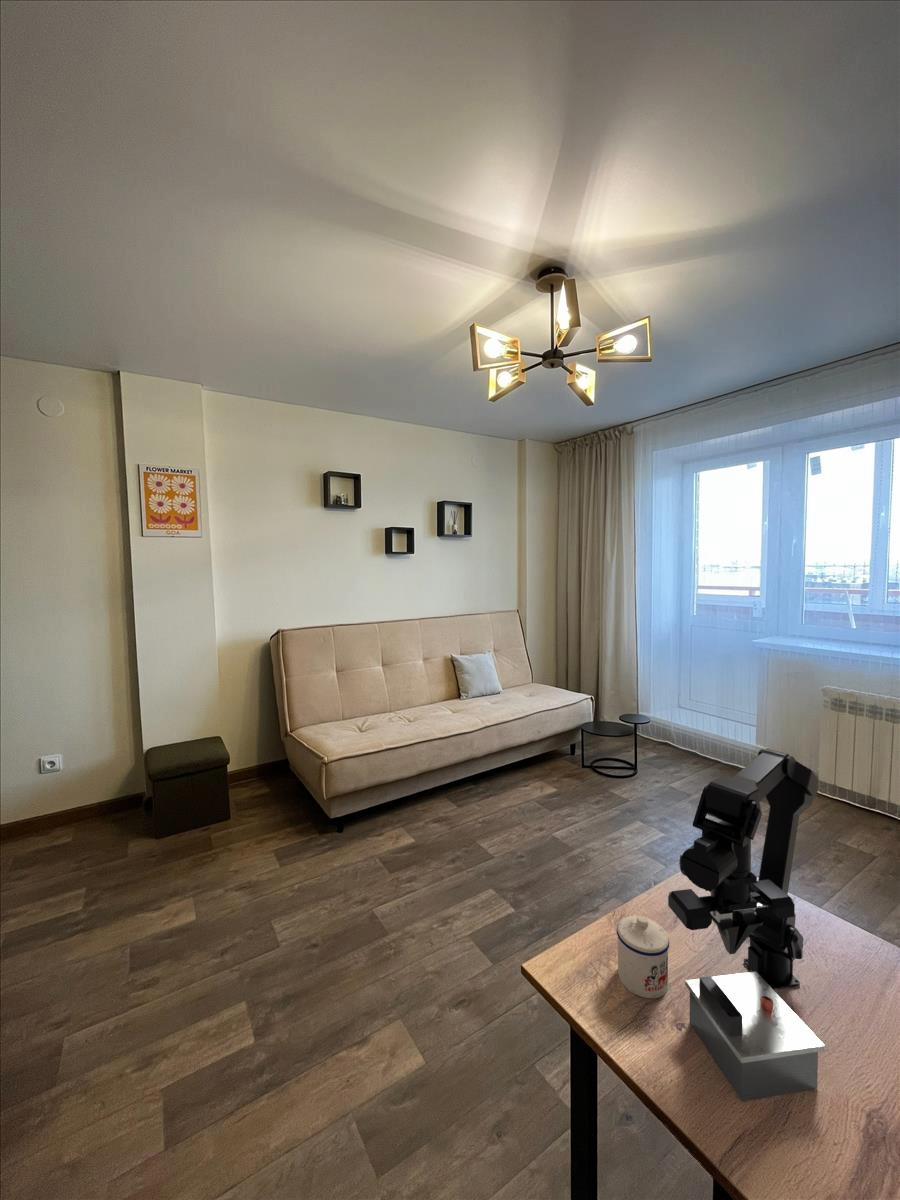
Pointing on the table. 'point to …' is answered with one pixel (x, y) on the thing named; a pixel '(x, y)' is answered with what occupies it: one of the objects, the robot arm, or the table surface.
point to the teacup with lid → (643, 956)
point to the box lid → (752, 1017)
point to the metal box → (755, 1064)
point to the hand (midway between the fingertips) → (730, 952)
